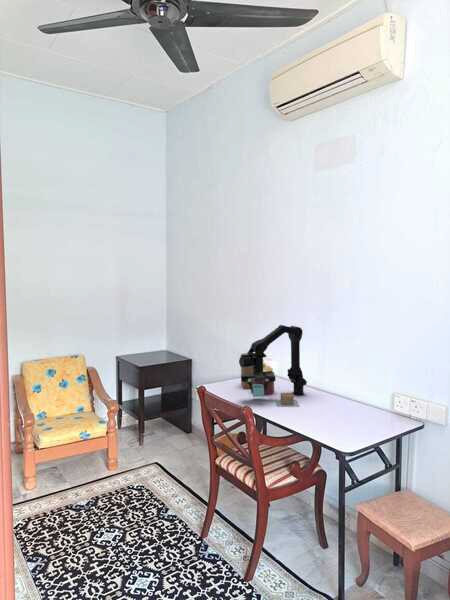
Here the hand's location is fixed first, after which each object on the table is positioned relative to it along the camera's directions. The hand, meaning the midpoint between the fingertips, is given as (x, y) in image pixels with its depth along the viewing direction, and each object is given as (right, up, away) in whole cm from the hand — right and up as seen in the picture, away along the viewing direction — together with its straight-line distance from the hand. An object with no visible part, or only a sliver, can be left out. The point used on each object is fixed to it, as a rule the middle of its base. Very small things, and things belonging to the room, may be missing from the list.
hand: (258, 393), depth 242 cm
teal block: (0, -1, 0) cm, 1 cm away
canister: (+4, -3, +15) cm, 16 cm away
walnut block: (+15, -4, -6) cm, 17 cm away
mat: (+15, -5, -6) cm, 17 cm away
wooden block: (-3, -2, +28) cm, 29 cm away
